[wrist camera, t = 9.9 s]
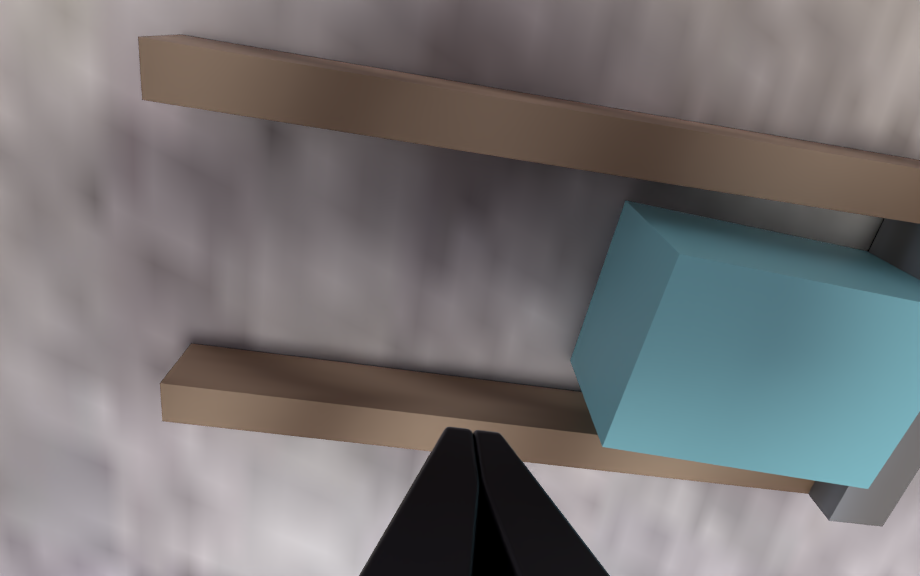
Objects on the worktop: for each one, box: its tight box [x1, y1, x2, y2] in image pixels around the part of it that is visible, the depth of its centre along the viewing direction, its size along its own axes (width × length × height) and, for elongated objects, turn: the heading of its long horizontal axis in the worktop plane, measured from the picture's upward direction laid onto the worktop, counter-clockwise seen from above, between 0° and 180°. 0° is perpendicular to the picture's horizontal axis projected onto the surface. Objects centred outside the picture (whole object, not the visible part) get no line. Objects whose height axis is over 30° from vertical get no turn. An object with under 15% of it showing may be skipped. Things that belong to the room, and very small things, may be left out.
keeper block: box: [570, 201, 920, 489], centre depth 15 cm, size 7×5×4 cm
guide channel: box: [138, 35, 920, 526], centre depth 15 cm, size 20×9×3 cm, turn 81°
